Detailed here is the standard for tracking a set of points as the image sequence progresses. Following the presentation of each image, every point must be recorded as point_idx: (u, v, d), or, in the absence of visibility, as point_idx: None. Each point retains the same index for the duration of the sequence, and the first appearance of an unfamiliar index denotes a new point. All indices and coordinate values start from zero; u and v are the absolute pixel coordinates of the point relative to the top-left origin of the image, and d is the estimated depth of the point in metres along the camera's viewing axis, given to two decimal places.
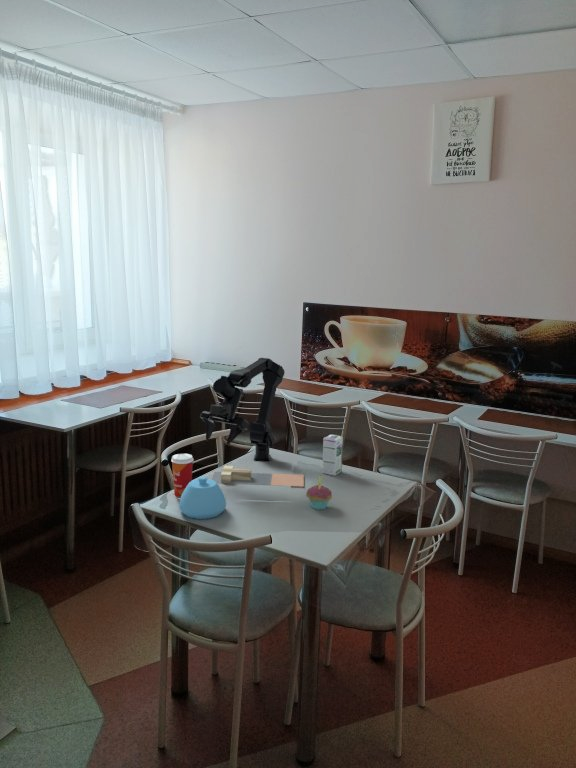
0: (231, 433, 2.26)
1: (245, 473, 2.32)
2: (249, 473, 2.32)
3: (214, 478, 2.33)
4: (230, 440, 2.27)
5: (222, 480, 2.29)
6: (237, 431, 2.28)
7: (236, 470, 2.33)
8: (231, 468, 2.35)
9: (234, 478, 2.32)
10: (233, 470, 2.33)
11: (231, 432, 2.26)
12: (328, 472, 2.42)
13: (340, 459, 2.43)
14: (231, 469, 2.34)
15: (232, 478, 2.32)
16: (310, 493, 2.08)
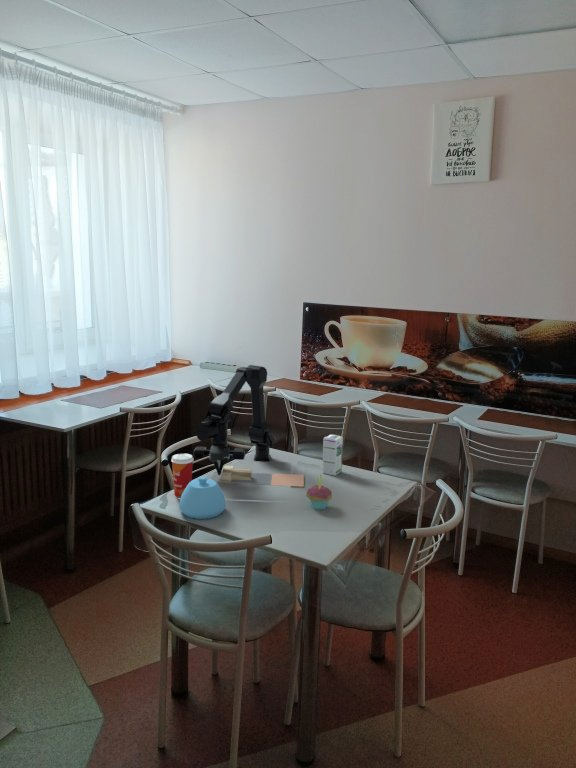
0: (221, 466, 2.32)
1: (245, 473, 2.32)
2: (249, 473, 2.32)
3: (214, 478, 2.33)
4: (221, 470, 2.34)
5: (222, 480, 2.29)
6: None
7: (236, 470, 2.33)
8: (231, 468, 2.35)
9: (234, 478, 2.32)
10: (233, 470, 2.33)
11: (221, 465, 2.32)
12: (328, 472, 2.42)
13: (340, 459, 2.43)
14: (231, 469, 2.34)
15: (232, 478, 2.32)
16: (310, 493, 2.08)
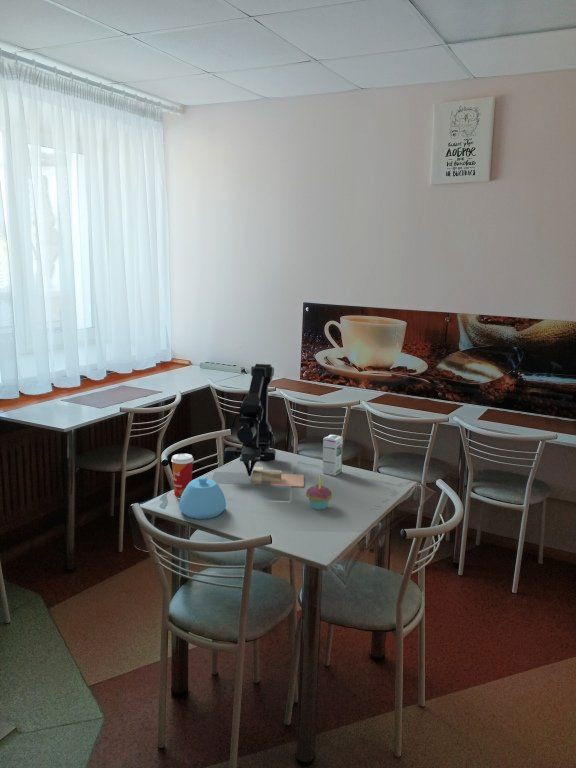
0: (252, 466, 2.32)
1: (276, 475, 2.31)
2: (280, 474, 2.31)
3: (214, 478, 2.33)
4: (251, 471, 2.33)
5: (253, 481, 2.29)
6: None
7: (266, 471, 2.33)
8: (261, 469, 2.35)
9: (265, 479, 2.32)
10: (263, 471, 2.33)
11: (252, 466, 2.31)
12: (328, 472, 2.42)
13: (340, 459, 2.43)
14: (261, 470, 2.34)
15: (263, 479, 2.32)
16: (310, 493, 2.08)
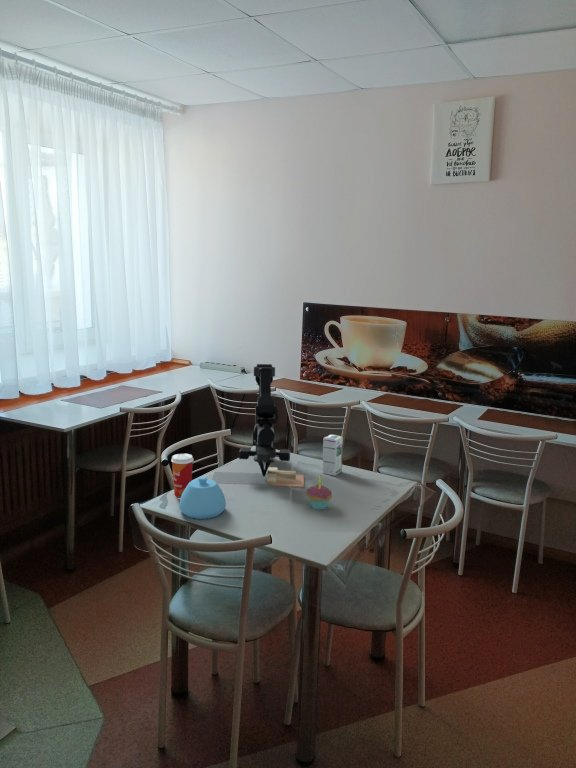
0: (267, 467, 2.32)
1: (290, 475, 2.31)
2: (294, 475, 2.31)
3: (214, 478, 2.33)
4: None
5: (268, 482, 2.29)
6: None
7: (281, 472, 2.33)
8: (276, 470, 2.35)
9: (279, 480, 2.32)
10: (278, 472, 2.33)
11: (266, 466, 2.31)
12: (328, 472, 2.42)
13: (340, 459, 2.43)
14: (276, 471, 2.34)
15: (277, 480, 2.32)
16: (310, 493, 2.08)
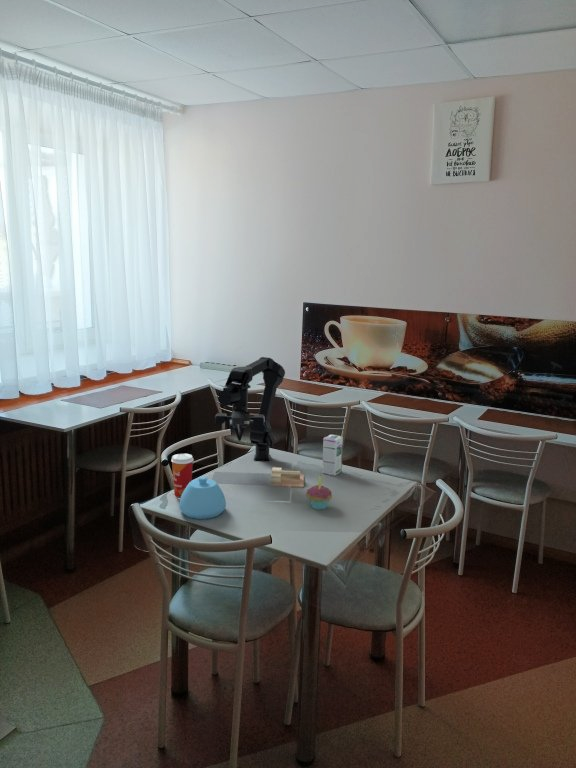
0: (242, 431, 2.39)
1: (295, 475, 2.31)
2: (299, 475, 2.31)
3: (214, 478, 2.33)
4: (241, 436, 2.41)
5: (272, 482, 2.29)
6: None
7: (285, 472, 2.33)
8: (280, 470, 2.35)
9: (283, 480, 2.32)
10: (282, 472, 2.33)
11: (242, 430, 2.39)
12: (328, 472, 2.42)
13: (340, 459, 2.43)
14: (280, 471, 2.34)
15: (281, 480, 2.32)
16: (310, 493, 2.08)
